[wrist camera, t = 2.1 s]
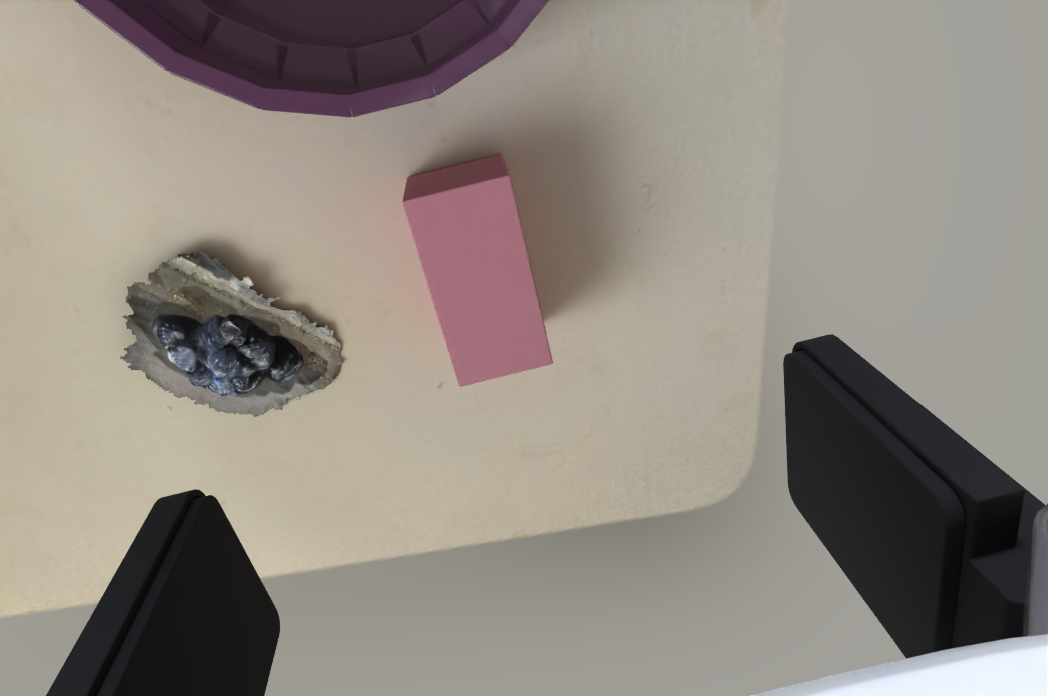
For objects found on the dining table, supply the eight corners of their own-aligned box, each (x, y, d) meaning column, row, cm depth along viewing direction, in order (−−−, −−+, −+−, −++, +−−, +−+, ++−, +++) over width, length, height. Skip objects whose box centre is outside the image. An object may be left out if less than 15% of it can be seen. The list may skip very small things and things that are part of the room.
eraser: (406, 176, 25) (401, 201, 21) (500, 153, 25) (509, 174, 21) (457, 345, 28) (459, 387, 25) (540, 324, 28) (553, 364, 25)
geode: (136, 229, 24) (113, 245, 23) (361, 283, 26) (355, 302, 24) (124, 389, 27) (103, 414, 25) (328, 428, 29) (322, 454, 27)
